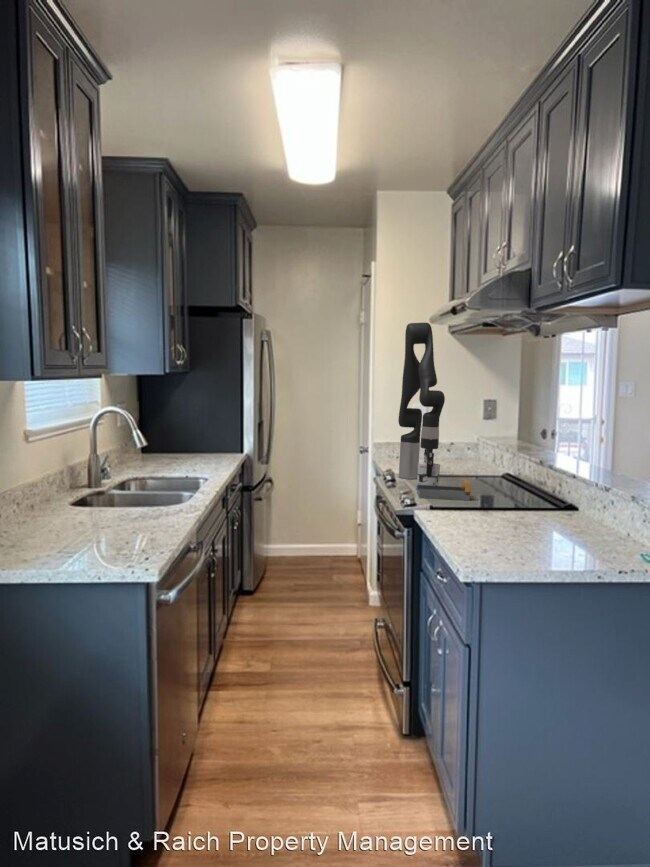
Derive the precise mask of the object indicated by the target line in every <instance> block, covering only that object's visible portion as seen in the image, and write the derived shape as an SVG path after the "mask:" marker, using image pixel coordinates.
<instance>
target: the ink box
mask: <svg viewBox="0 0 650 867" xmlns="http://www.w3.org/2000/svg"><path fill="white" fill-rule="evenodd" d="M428 464H431V463H428ZM426 469H427V467H426V463H425V462H424V461H422V462H419V464H418V475H417V478H416V479H417V480H416V481H417V482H416V486H417V485H434V486H440V474H441V472H440V470H441V464H439V463H434V462H433V467H432V476H431V477H427V476H426Z"/></svg>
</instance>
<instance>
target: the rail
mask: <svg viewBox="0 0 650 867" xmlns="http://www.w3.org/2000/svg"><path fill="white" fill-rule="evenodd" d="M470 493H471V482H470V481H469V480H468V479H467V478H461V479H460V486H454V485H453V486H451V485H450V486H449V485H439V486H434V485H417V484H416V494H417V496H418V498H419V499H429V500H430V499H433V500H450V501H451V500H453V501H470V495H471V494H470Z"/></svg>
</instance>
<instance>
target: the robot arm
mask: <svg viewBox="0 0 650 867" xmlns="http://www.w3.org/2000/svg"><path fill="white" fill-rule="evenodd" d="M404 333H405V335H404V336H405V337H404V340H405V341H404V343H405V344H404V346H405V347H404V360H403V362H404V363H403V372H402V382H401V383H402V384H401V399H400V405H399V413H398V418H397V419H398V420H397V421H398V425H399V426H400V427H402V428H411V429H413V430H411V431H410V432H407V433H405V434H401V435H400V441H399V442H400V444H399V446H400V448H399V461H398V462H399V466H398V477H399V478H401V479H405V480H406V479H407V480H414V479H417V475H418V464H419V463H420V450H421V449H424V452H423V462H425V463H426V467H427V469H426V476H427V477H431V476H432V467H433V463H434V460H435V459H434V458H435V453H434V452H433V450H438V449H439V442H440V417H441V414H442V411H443V408H444V404H445V403H446V402H445V401H446V397H445V394H444V392H443V391H441V390H435V389H433V390H430V388H433V387H435V386H436V385H437V384H438V378H437V372H436V368H435V357H434V356H435V354H434V338H433V337H434V336H433V329H432V325H431V324H430V323H429V322H411V323H407V324H406V328H405V332H404ZM421 344H422V345H424V348H425V350H424V354H423V355H422V357H421V360H420V361H419V359H418V357H417V356H416V354H415V348H414V346H415V345H421ZM418 392H419V399H418V400H419V403H420V405H421V406H422V407H425V408H432V409H431V410H430V411H429V412H424V413H423V412H422V409H421V408H417V407H415V408H413V407H411V408H410V407H408V406H409V404H410V402H411V401H412V399H413V397H414V396H416V394H417V393H418ZM420 448H421V449H420ZM428 463H431V464H428Z"/></svg>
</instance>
